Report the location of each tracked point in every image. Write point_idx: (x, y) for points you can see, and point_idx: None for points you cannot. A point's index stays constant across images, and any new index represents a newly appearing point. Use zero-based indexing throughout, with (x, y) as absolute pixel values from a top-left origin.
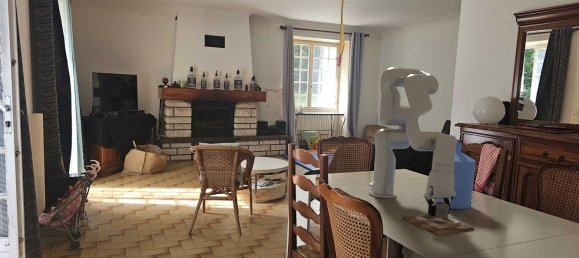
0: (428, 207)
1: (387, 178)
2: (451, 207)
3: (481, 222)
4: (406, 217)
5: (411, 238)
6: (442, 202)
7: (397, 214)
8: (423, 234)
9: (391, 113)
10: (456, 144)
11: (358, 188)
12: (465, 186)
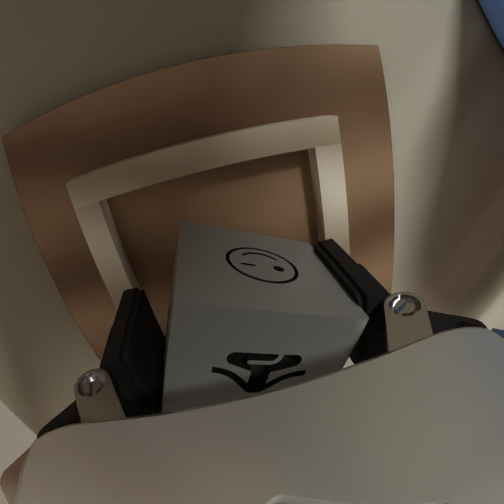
0: (113, 331)
1: None
2: (500, 39)
3: (481, 244)
4: (17, 160)
5: (12, 385)
6: (310, 367)
7: (28, 34)
8: (62, 369)
9: None
10: None
11: None
12: None
